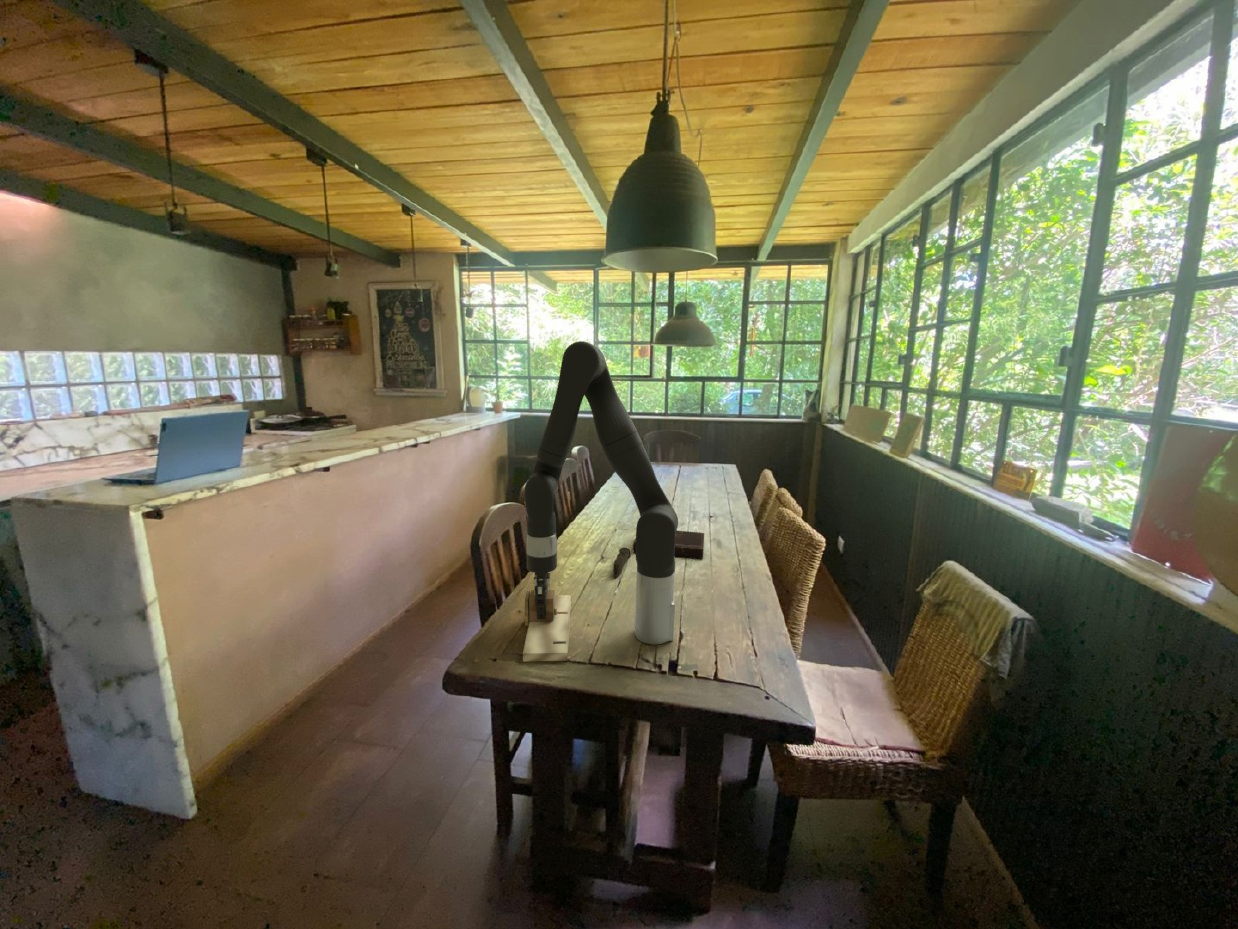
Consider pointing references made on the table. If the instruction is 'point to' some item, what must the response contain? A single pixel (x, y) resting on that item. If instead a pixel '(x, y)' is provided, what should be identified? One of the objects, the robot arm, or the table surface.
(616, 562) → the hand tool
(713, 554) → the table surface
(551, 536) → the robot arm
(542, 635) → the board
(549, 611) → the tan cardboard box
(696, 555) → the diary
